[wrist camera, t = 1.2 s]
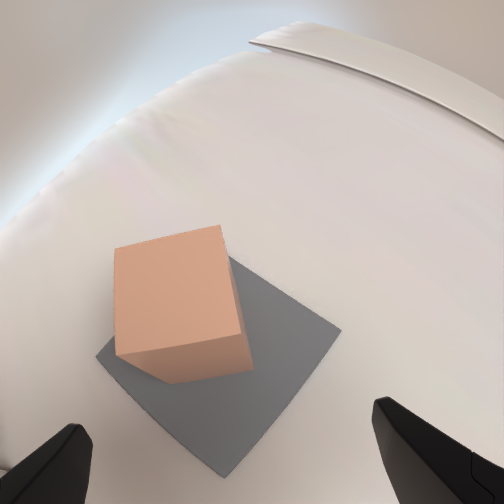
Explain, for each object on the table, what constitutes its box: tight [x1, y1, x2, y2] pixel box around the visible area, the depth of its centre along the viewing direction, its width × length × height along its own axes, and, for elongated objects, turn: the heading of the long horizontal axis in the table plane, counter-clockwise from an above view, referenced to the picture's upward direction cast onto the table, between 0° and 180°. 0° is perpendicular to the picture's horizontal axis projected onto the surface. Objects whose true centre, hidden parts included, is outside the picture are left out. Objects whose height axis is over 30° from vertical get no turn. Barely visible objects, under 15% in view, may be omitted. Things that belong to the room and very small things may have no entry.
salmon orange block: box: [114, 225, 254, 384], centre depth 20 cm, size 6×6×9 cm
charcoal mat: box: [96, 256, 342, 478], centre depth 24 cm, size 14×14×1 cm
